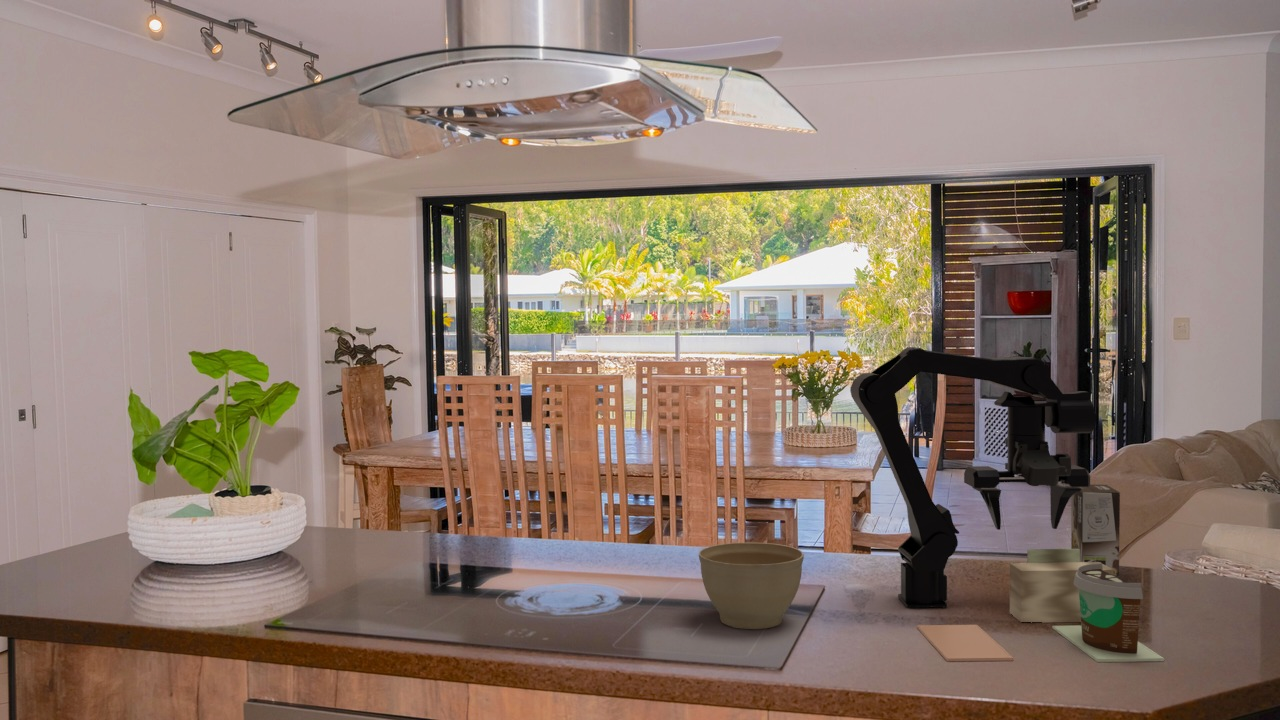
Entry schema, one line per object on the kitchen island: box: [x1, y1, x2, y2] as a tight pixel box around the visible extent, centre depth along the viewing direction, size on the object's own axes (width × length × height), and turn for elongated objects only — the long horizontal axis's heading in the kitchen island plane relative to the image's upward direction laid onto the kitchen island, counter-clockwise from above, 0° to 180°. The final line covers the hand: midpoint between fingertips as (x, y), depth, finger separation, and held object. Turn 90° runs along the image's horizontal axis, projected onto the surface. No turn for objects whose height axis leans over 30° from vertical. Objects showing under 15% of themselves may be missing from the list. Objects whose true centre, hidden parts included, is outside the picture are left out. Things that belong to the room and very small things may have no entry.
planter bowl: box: [698, 542, 805, 630], centre depth 157 cm, size 16×16×11 cm
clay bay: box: [916, 624, 1014, 662], centre depth 146 cm, size 9×15×1 cm, turn 0°
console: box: [1009, 548, 1114, 624], centre depth 158 cm, size 14×6×10 cm, turn 90°
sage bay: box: [1052, 624, 1165, 663], centre depth 145 cm, size 9×15×1 cm, turn 0°
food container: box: [1074, 563, 1144, 654], centre depth 144 cm, size 12×6×10 cm, turn 1°
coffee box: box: [1070, 484, 1121, 576], centre depth 181 cm, size 9×6×16 cm
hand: (1026, 528), depth 166 cm, fingers open, 9 cm apart
